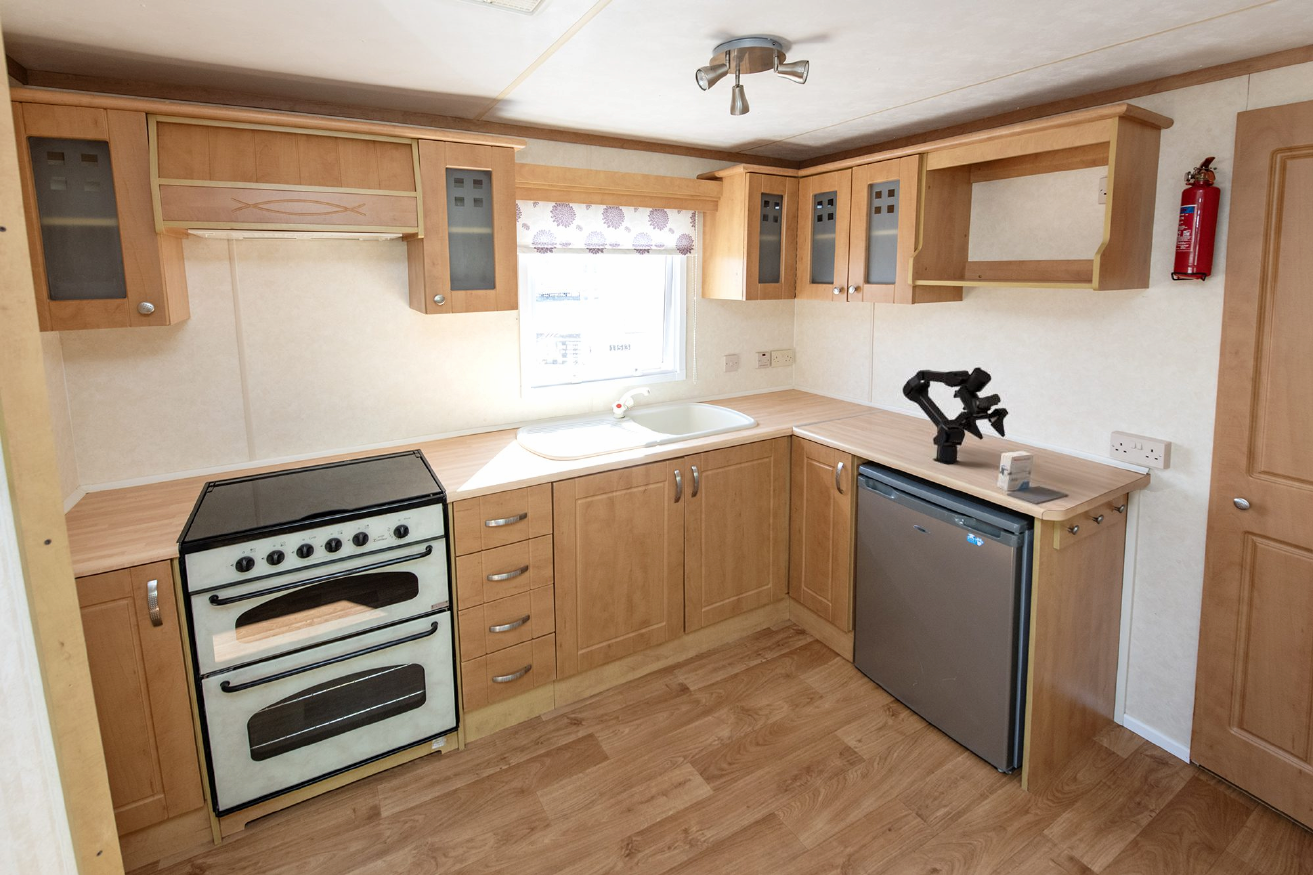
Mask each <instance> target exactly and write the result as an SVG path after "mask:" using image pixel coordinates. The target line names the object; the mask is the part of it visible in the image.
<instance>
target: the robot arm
mask: <svg viewBox="0 0 1313 875" xmlns="http://www.w3.org/2000/svg"><path fill="white" fill-rule="evenodd" d="M991 381H992V375H991V374H990V373H989V372H988V371H987V370H984V369H982V368H981V367H980V366H979V367H974V368H973V370H972V372H971V373H970V372H969V371H968V370H965V369H964V370H950V371H940V370H931V369H921V370H918V371H917V372H916V373H915V375H913V376H912V377H911V378H909V379H908V380H907V381H906V383H905V384H904V385H903V387H902V394H903V396H904V397H905V398H906V399H907V400H909V401H911V402H913V403H915V404H916V405H918V406H919V408H921V410H922V411H923V412H924V414H926V416H927V417H928V419H929V420H930V421H931V422H932V424H933V425H934V426H935V427H936V435H935V436H934V437H933V438H932V440H933V441H932V442H933V445H934V446H936V456H935V457H934V458H932V460H933V461H935V462H939V463H942V464H945V465H949V464H955V463H959V460H958V452H959V451H958V446H962V444H963V441H964V439H965V436H966V432H967V433H969V434H971V435H972V436H974V437H976V438H977V439H979V440H983V439H984V436H983V434H982V432H981V430H980V428H979V426H978V425H977V421H983V420H987V421H988V423H990V424H989V425H990V426H991V428H993V430H994V431H995V432H996V433H997V434H998V435H999V436H1001V437H1002V438H1004V437H1006V432H1005V425H1004V420H1005V418H1006V417H1007V416H1008V415H1009V410H1007V408H1006V407H997V408H996V407H995V408H994V409H993V410H992V407H994V406H999V404H1000V403H1001V401H1002V400H1001V396H1000V395H999V394H998V393H993V394H991V395H986V396H982V397H980V396H979V394H978V393H980V392H982V391H983V390H984V389H985V388H986V387H987V385H988V384H989V383H990V382H991ZM931 382H933V383H935V382H936V383H941V384H944V386H947V387H950V388H958V389H957V390H954V393H953V399H959V400H960V402H961V404H962V405H963V407H962V408H961V409H962V411H960V412H959V414H958V415H957V416H956V417H955V418H954V419H949V418H948V416H946V414H944V412H943V411H942V409H941V408H939V406H938V405H937V404H936V403H935V401H933V399H932V398H931V397H930V396H929V389H930V387H931ZM989 411H991V412H989Z"/></svg>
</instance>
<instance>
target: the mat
mask: <svg viewBox="0 0 1313 875" xmlns="http://www.w3.org/2000/svg"><path fill="white" fill-rule="evenodd" d="M1006 496H1009V497H1012V498H1015V499H1019V500H1020V501H1021V500H1022V501H1025V502H1028V503H1031V504H1034V505H1038V504H1042V503H1046V502H1050V501H1053V500H1058V499H1061V498H1064V497H1068V496H1069V494H1067V493H1065V492H1062V491H1057V490H1054V489H1051V488H1047V487H1044V486H1041V485H1037V486H1033V487H1029V488H1028V489H1021V490H1015V491H1011V492H1009V493H1006Z"/></svg>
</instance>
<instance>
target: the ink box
mask: <svg viewBox="0 0 1313 875" xmlns="http://www.w3.org/2000/svg"><path fill="white" fill-rule="evenodd" d="M1000 456H1001V458H1000V465H999V472H998V479H997V487H998V488H1000V489H1001V490H1004V491H1006V492H1014V491H1020V490H1024V489H1028V488H1030V482H1031V474H1032V467H1033V461H1034V454H1033V453H1030V452H1028V451H1027V452H1026V451H1025V450H1018V451H1010V452H1009V451H1008V452H1002V453H1001V455H1000Z"/></svg>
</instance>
